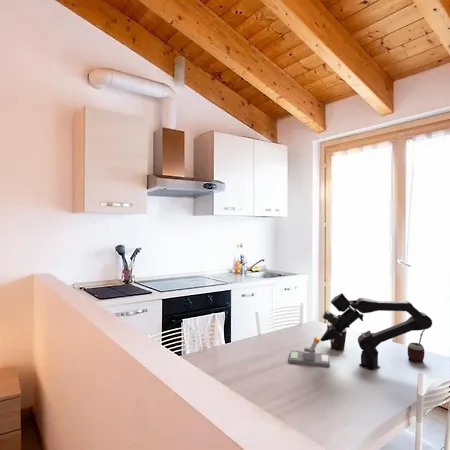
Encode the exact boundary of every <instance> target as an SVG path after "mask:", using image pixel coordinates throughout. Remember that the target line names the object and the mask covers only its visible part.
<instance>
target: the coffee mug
mask: <svg viewBox="0 0 450 450" xmlns="http://www.w3.org/2000/svg"><path fill="white" fill-rule="evenodd" d="M346 338H347V328H346V329H345V330H343V333H342V340H341V341H339V342H338V341H337V340H336V339H331V340H329V341H330V348H331V350H333V351H337V352H343V351H345V346H346Z"/></svg>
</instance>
